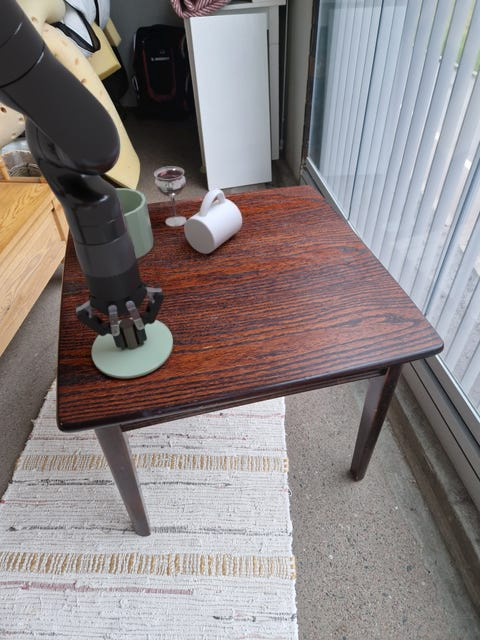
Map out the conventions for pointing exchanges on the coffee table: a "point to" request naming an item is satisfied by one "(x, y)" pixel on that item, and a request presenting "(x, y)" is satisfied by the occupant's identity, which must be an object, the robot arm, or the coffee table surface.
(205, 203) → the mug
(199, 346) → the coffee table surface
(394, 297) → the coffee table surface
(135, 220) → the jar
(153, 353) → the lid
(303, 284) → the coffee table surface
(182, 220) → the wineglass
